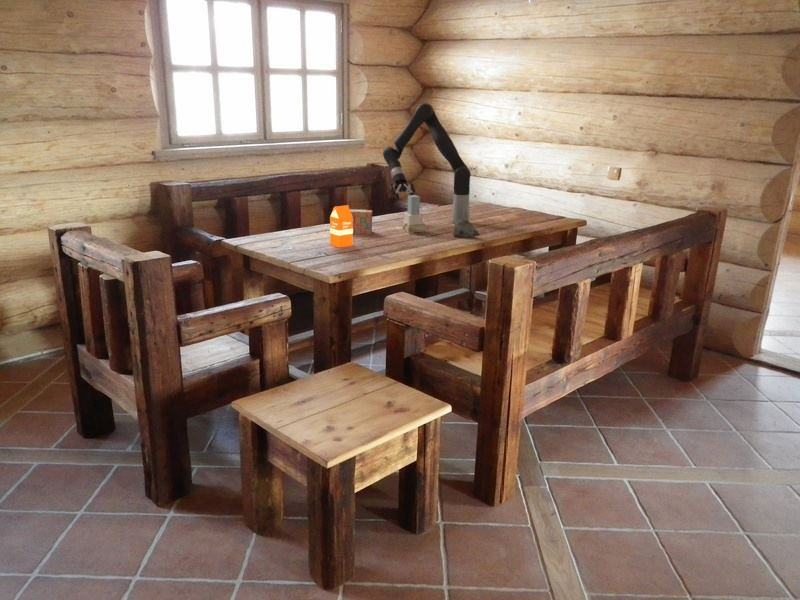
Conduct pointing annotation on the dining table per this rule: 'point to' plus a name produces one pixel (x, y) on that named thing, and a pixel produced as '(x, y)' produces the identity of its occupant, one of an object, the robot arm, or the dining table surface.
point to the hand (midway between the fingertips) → (405, 199)
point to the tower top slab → (413, 219)
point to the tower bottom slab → (413, 227)
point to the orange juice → (341, 227)
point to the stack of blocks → (362, 221)
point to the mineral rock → (464, 229)
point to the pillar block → (413, 205)
